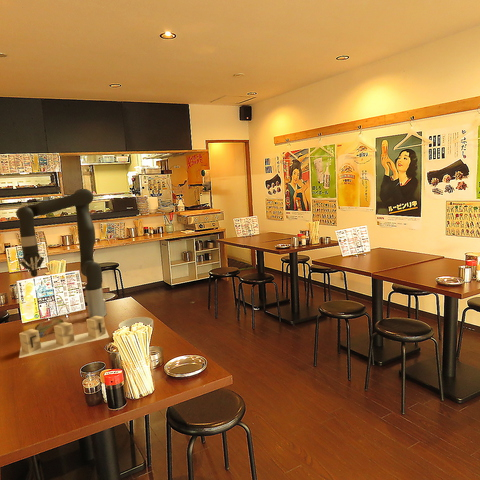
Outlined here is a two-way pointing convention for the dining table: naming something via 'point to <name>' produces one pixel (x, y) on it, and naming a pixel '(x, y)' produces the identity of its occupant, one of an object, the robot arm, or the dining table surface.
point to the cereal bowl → (134, 320)
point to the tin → (48, 327)
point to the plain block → (64, 333)
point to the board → (53, 346)
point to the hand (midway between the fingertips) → (34, 276)
